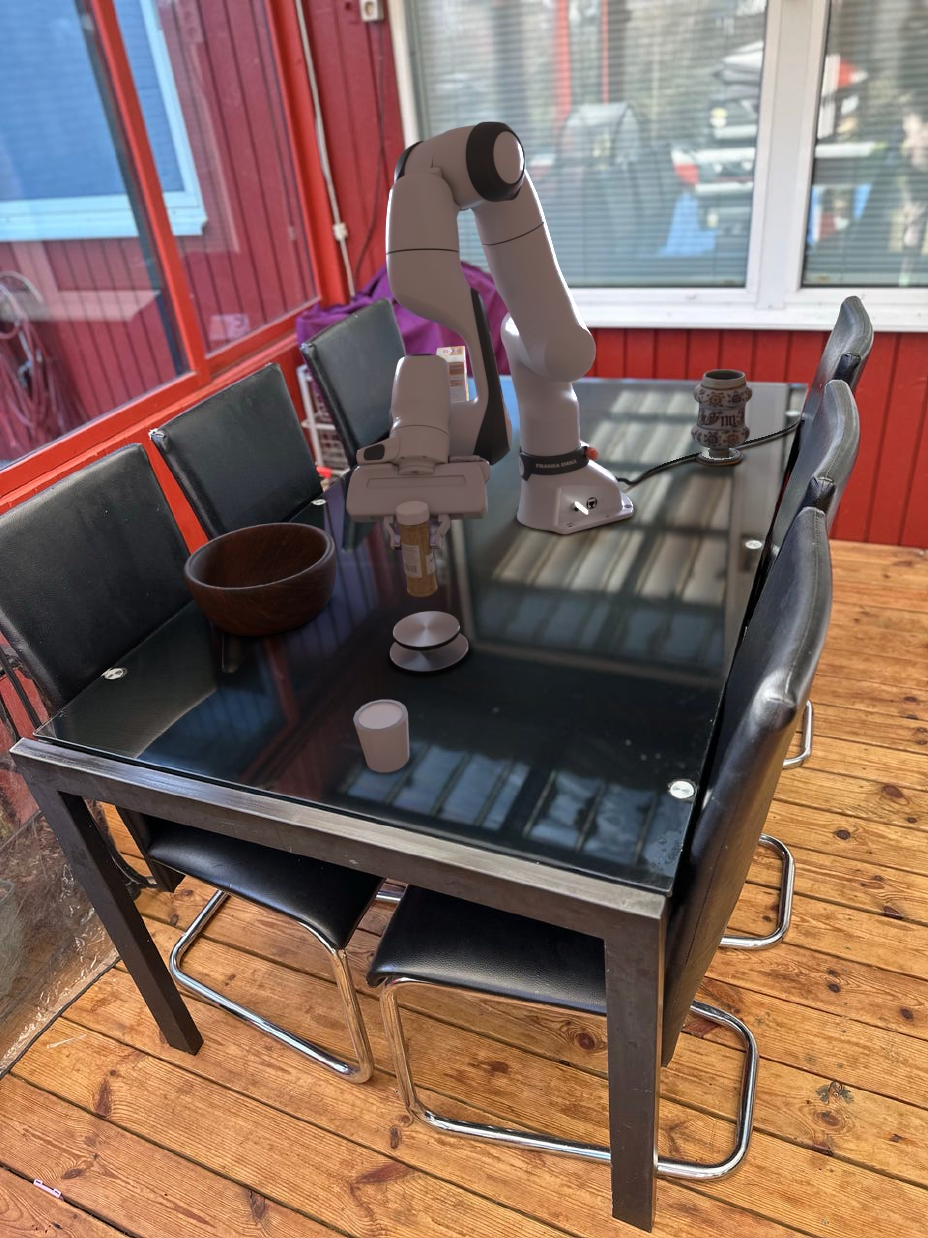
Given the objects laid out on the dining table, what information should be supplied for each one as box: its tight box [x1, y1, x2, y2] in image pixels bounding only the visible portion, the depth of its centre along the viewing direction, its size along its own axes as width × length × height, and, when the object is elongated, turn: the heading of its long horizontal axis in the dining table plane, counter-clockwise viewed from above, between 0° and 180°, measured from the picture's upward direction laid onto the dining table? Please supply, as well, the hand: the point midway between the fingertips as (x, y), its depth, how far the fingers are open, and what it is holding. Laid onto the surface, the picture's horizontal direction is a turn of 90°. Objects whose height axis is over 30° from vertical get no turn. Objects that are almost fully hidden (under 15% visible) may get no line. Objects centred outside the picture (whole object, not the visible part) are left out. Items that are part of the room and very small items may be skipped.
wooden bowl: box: [183, 522, 337, 637], centre depth 149 cm, size 25×25×10 cm
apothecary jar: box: [690, 368, 754, 466], centre depth 186 cm, size 12×12×18 cm
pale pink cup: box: [352, 699, 410, 773], centre depth 113 cm, size 7×7×7 cm
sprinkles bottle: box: [396, 501, 438, 598], centre depth 126 cm, size 5×5×14 cm
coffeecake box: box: [435, 345, 470, 401], centre depth 215 cm, size 15×7×20 cm, turn 179°
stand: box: [389, 610, 470, 676], centre depth 134 cm, size 12×12×4 cm
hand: (415, 548), depth 125 cm, fingers closed on sprinkles bottle, 4 cm apart
